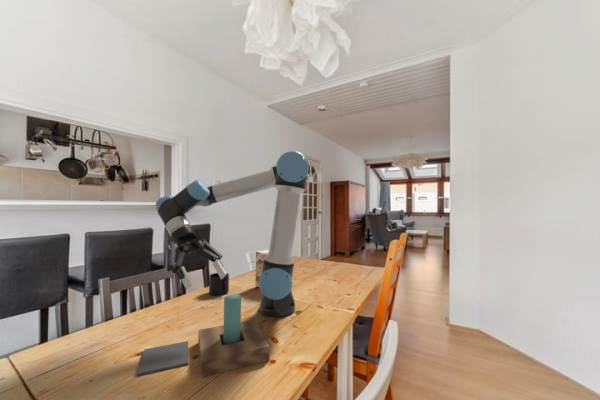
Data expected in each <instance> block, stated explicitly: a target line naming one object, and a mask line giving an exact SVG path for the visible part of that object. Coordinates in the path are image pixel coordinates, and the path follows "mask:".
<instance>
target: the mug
mask: <svg viewBox="0 0 600 400" xmlns="http://www.w3.org/2000/svg"><path fill="white" fill-rule="evenodd" d="M208 278H209V279H208V282H209V283H208V284H209V285H208V287H209V289H208V295H210V296H213V297H216V296H217V297H220V295H221V296H225V295H226V294H227V295H228V293H229V288H230V287H229V284H230V275H229V273H228V272H226V276H225V277H224V278H223V279H221V278H220V276H219V275H218V273H217V272H214V273H211V274H209V277H208ZM224 294H225V295H224Z"/></svg>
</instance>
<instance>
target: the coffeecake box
mask: <svg viewBox="0 0 600 400" xmlns="http://www.w3.org/2000/svg"><path fill="white" fill-rule="evenodd" d="M268 254H269V250H268V249H267V250H266V249H263V250H257V251H255V286H256V287H259V279H260V276H261V274H262V267H263V261H264V257H265V256H267V255H268ZM256 287H255V288H256ZM258 289H260V287H259V288H258Z"/></svg>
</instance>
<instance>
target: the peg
mask: <svg viewBox="0 0 600 400" xmlns="http://www.w3.org/2000/svg"><path fill="white" fill-rule="evenodd" d="M241 318H242V296H241V295H240V294H229V295H228V294H227V295H226V296H224V298H223V326H224V332H223V345H226V344H231V343H236V342H240V334H241V322H242V319H241Z"/></svg>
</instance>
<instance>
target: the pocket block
mask: <svg viewBox="0 0 600 400" xmlns="http://www.w3.org/2000/svg"><path fill="white" fill-rule="evenodd" d="M223 332H224V325H219V326H213V327H207V328H202V329H198V340H197V342H198V354H199V356H198V357H199V364H200V365H199V366H200V376H201V378H205V377H209V376H212V375H216V373H217V374H220V372H221V373H225V372H228V371H232V370H237V369H241V368H245V367H250V366H253V365H256V364H261V363H264V361H266V362H269V361H270V347H271V346H270V344H269V343H268V341H267V340H266V338H265V336H264V334H263V333H262V330H261V329H260V328H259V326H258V325H257V323H256V322H255V319H252V320H247V321H241V334H240V342H236V343H231V344H226V345H223ZM268 360H269V361H268ZM252 364H253V365H252Z"/></svg>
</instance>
